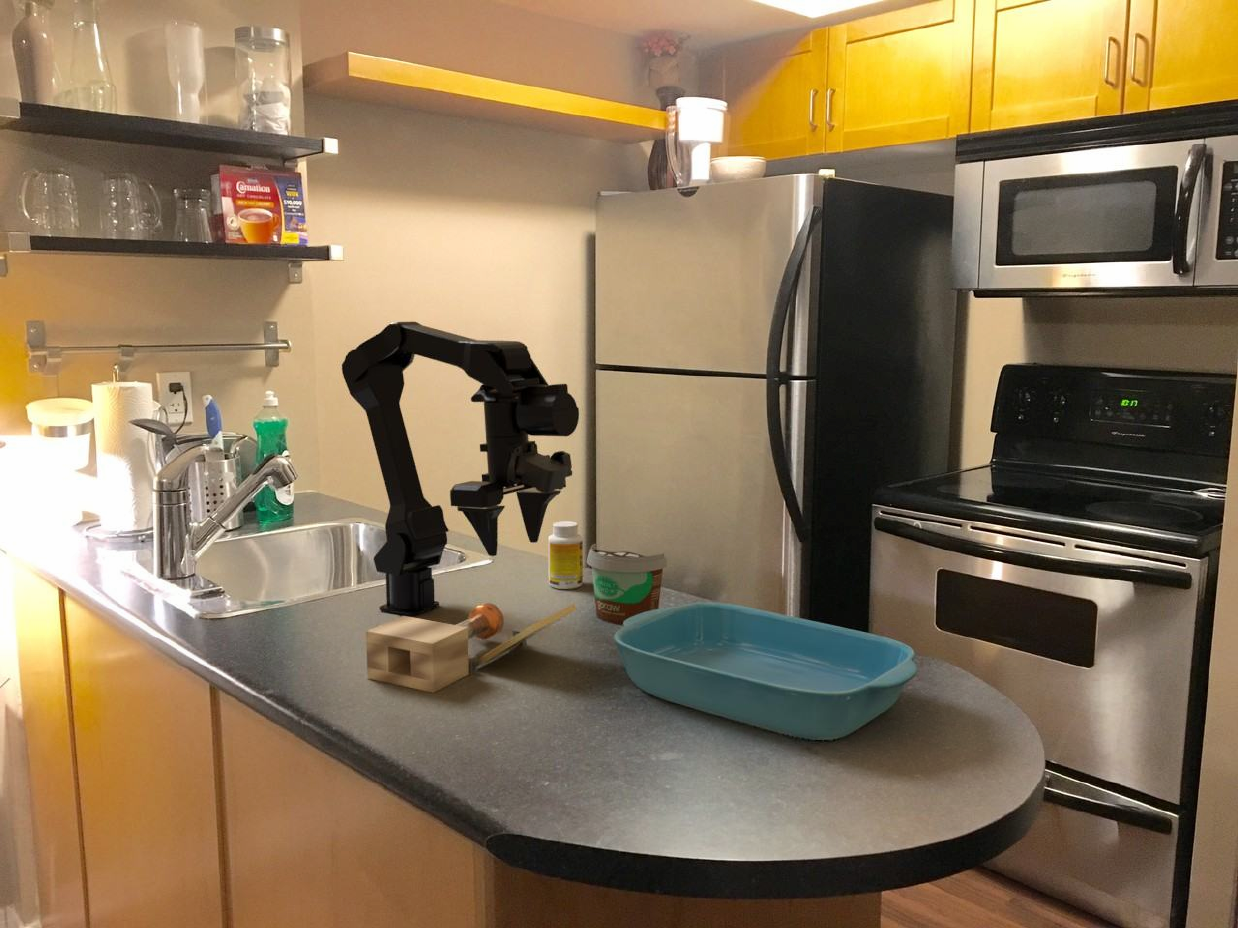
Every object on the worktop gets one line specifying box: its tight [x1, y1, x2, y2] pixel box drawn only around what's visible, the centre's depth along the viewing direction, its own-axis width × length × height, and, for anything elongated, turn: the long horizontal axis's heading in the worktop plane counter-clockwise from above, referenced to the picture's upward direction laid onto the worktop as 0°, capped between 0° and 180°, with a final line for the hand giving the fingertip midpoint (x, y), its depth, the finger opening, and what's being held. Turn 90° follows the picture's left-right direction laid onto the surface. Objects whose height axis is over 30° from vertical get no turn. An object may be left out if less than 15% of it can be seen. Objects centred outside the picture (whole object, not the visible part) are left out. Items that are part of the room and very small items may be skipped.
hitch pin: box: [455, 602, 505, 640], centre depth 137 cm, size 4×13×4 cm, turn 152°
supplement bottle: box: [547, 520, 584, 590], centre depth 169 cm, size 6×6×10 cm
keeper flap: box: [476, 603, 577, 668], centre depth 133 cm, size 11×10×1 cm
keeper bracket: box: [468, 628, 528, 675], centre depth 136 cm, size 2×13×2 cm, turn 152°
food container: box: [586, 543, 668, 625], centre depth 151 cm, size 12×6×10 cm, turn 62°
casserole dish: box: [613, 602, 919, 742], centre depth 123 cm, size 37×22×7 cm, turn 51°
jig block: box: [365, 615, 470, 694], centre depth 129 cm, size 10×7×6 cm
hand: (513, 548), depth 144 cm, fingers open, 9 cm apart
